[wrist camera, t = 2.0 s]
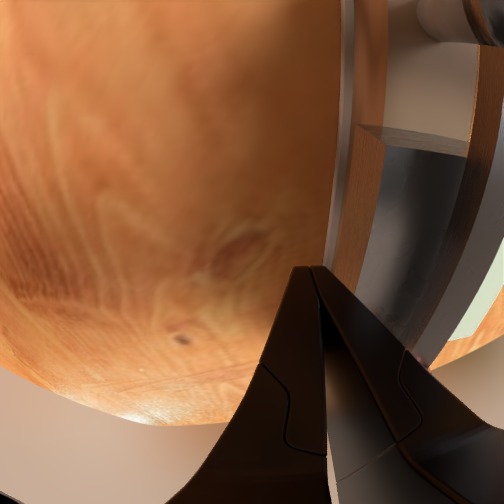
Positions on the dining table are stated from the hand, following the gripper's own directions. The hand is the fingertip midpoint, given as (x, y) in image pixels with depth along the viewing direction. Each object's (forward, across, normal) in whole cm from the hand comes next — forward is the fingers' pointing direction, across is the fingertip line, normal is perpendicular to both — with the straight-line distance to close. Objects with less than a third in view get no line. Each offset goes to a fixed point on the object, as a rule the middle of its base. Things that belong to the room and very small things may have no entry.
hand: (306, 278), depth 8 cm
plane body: (+7, -5, 0) cm, 9 cm away
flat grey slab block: (+3, -5, +1) cm, 6 cm away
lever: (0, -5, -1) cm, 5 cm away
